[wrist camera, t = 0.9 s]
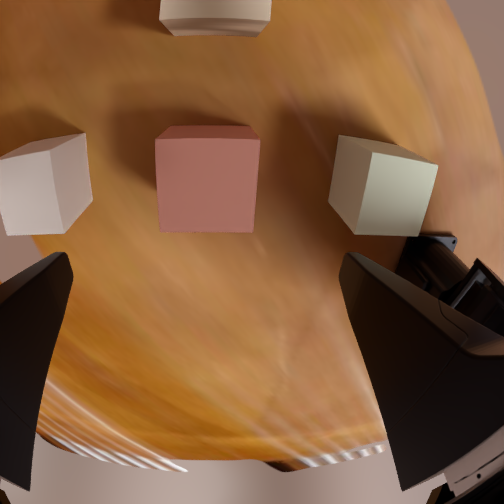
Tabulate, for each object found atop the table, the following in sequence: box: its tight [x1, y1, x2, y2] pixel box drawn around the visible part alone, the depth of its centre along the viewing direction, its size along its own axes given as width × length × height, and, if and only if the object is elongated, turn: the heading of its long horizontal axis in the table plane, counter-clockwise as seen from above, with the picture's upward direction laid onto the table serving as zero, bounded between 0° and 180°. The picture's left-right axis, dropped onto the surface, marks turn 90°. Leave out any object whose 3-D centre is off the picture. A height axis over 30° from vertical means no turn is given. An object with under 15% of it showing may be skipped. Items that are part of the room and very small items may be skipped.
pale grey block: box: [0, 133, 93, 235], centre depth 15 cm, size 5×5×5 cm
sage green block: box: [328, 135, 438, 236], centre depth 18 cm, size 5×5×5 cm
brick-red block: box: [155, 125, 260, 232], centre depth 16 cm, size 5×5×5 cm
